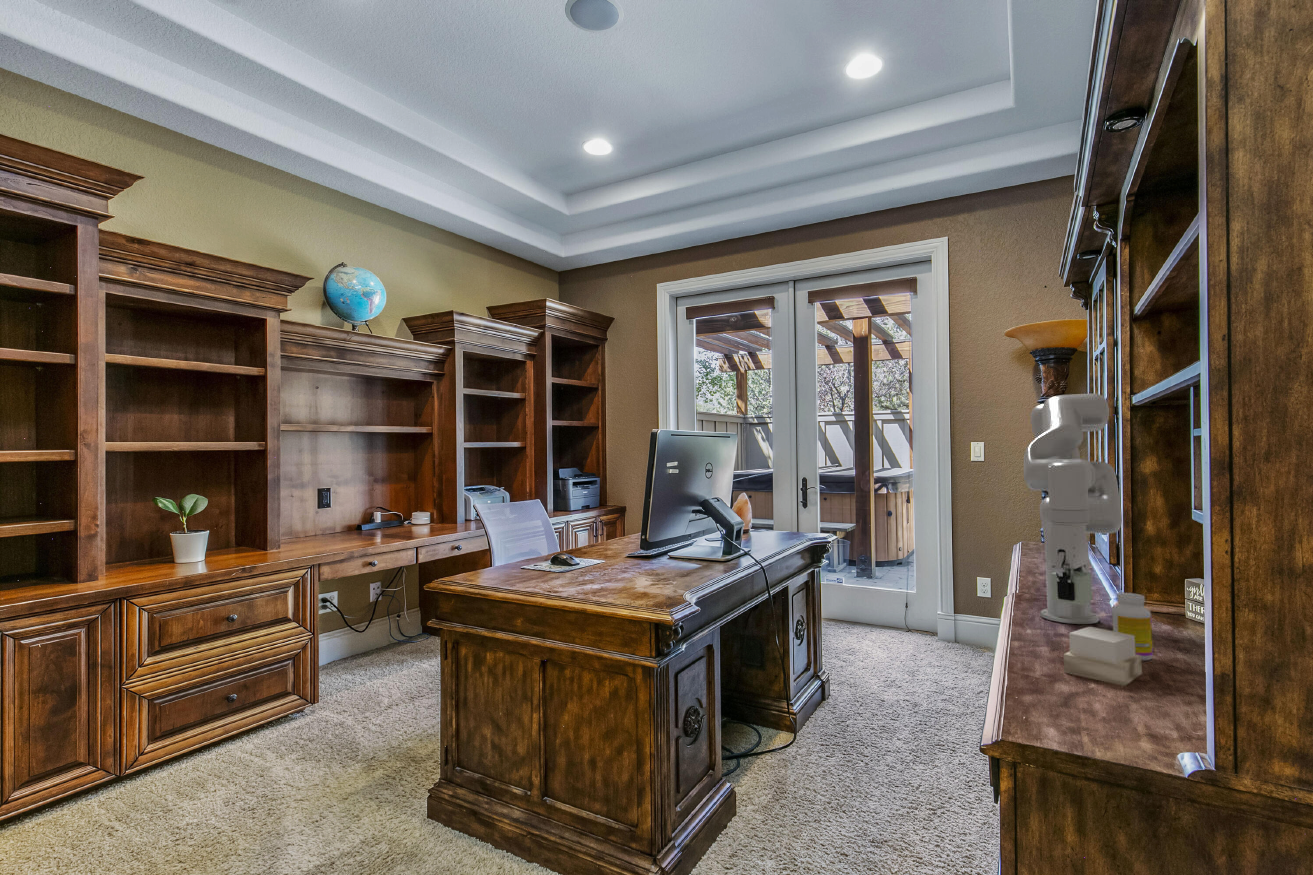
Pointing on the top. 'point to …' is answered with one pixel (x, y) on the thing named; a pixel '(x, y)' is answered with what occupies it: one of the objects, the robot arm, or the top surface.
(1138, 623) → the supplement bottle
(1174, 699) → the top surface
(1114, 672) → the tower base block
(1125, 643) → the tower top block
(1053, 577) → the stack block
